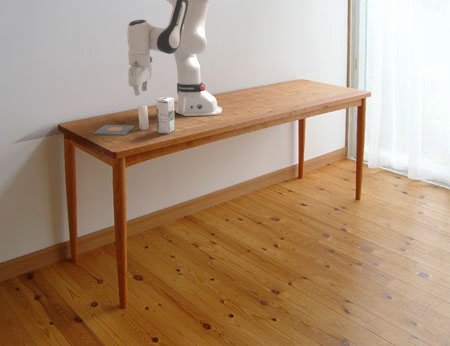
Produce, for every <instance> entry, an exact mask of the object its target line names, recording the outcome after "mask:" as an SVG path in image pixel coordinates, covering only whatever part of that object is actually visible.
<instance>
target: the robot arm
mask: <svg viewBox="0 0 450 346" xmlns="http://www.w3.org/2000/svg"><path fill="white" fill-rule="evenodd" d="M166 1H167V3H169V5H170V4H171V5H172V6H171V7H172V10H171V15H170V17H169V21H168V25H167V26H166V27H164V28H163V27H156V26H154V25H152V24H150V23H148V22H147V20H145V19H136V20H133V21H130V22H129V23H128V26H127V32H126V33H127V37H126V38H127V45H128V53H127V54H128V65H129V66H130V67H129V68H128V86H129V87H132V88H133V91H134V96H136V97H138V96H140V95H141V92H146V91H147V90H148V89H147V88H148V80H150V79H151V78H152V70H153V69H152V67H153V65H152V63H153V57H152V56H151V53H150V51H154V52H161V53H164V54H168V55H171V54H173V56H174V59H175V63H176V64H175V65H176V70H177V71H176V72H177V74H176V75H177V83H176V92H177V105H176V109H175V113H177V114H178V115H179V114H180V115H182V116H184V117H193V116H195V117H196V116H201V117H202V116H218V115H219V114H221V113H222V112H223V108H222V107H221V106H218V102H217V98H216V97H215V96H214V95H212V93H210V92H209V91H207V90H206V82H204V83H203V82H202V79H201V78H202V77H201V72H202V71H201V64H200V63H199V60H198V58H197V55H201V54H202V53H203V54H204V52H205V51H206V49H207V47H208V40H207V37H206V21H207V19H206V18H207V16H208V15H207V14H208V11H209V6H210V2H211V0H166ZM140 85H141V92H140Z"/></svg>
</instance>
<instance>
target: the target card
mask: <svg viewBox="0 0 450 346" xmlns="http://www.w3.org/2000/svg"><path fill="white" fill-rule="evenodd" d="M135 128H136V126H135V125H128V124H126V125H125V124H123V125H121V124H118V125H117V124H104V125H103V126H101V127H100V128H98V129H97V130H95V131H94V132H93V135H107V136H112V135H113V136H126V135H127V134H128V133H130V132H131V131H132V130H134V129H135Z"/></svg>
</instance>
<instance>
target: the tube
mask: <svg viewBox="0 0 450 346" xmlns="http://www.w3.org/2000/svg"><path fill="white" fill-rule="evenodd" d="M137 111H138V112H137V113H138V125H139V127H138V129H139V130H140V131H147V130H149V128H150V127H149V114H148V106H147V105H138V106H137Z"/></svg>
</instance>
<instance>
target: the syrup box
mask: <svg viewBox="0 0 450 346" xmlns="http://www.w3.org/2000/svg"><path fill="white" fill-rule="evenodd" d="M155 102H156V104H155V105H156V106H155V107H156V127H157V133H159V134H171V133H173V132H175V131H176V121H175V120H176V118H175V116H176V115H175V98H174V97H167V96H163V97H160V98H158V99H156V100H155Z"/></svg>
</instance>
